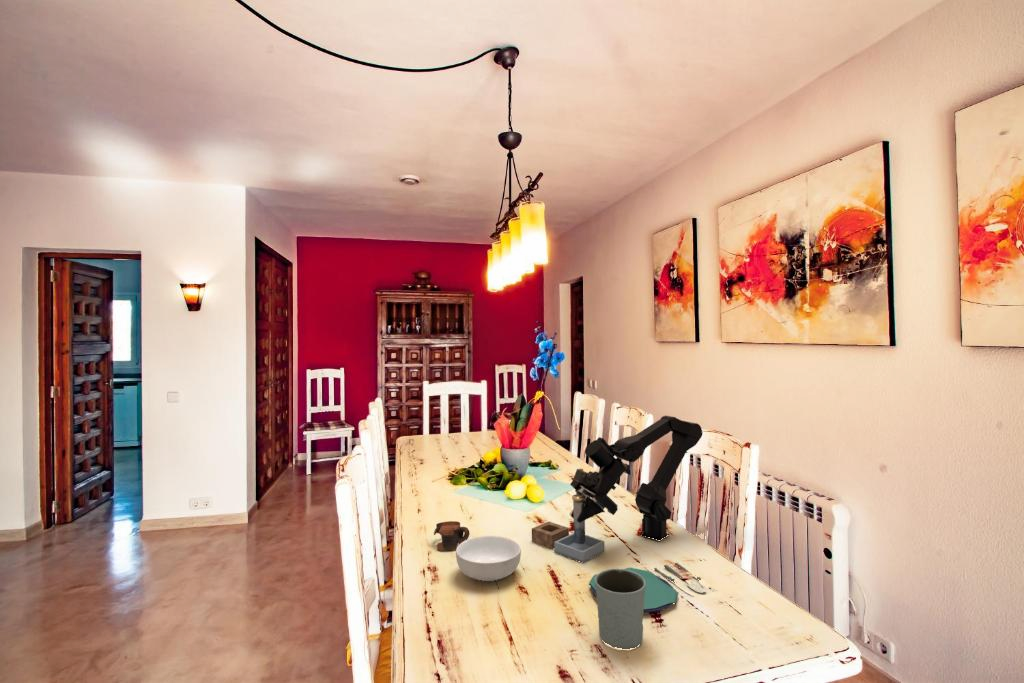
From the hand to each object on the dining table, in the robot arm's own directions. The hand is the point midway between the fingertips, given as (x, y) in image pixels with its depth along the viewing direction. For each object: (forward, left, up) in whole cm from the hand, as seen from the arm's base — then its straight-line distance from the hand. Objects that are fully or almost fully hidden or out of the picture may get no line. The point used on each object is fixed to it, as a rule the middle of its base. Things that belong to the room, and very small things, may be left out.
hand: (575, 519), depth 140 cm
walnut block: (+10, -1, -10) cm, 14 cm away
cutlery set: (-26, +4, -10) cm, 28 cm away
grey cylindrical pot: (-31, +26, -10) cm, 42 cm away
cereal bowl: (+8, +26, -10) cm, 29 cm away
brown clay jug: (+30, +21, -10) cm, 38 cm away
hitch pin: (-1, -1, -7) cm, 7 cm away
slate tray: (0, -1, -10) cm, 10 cm away
